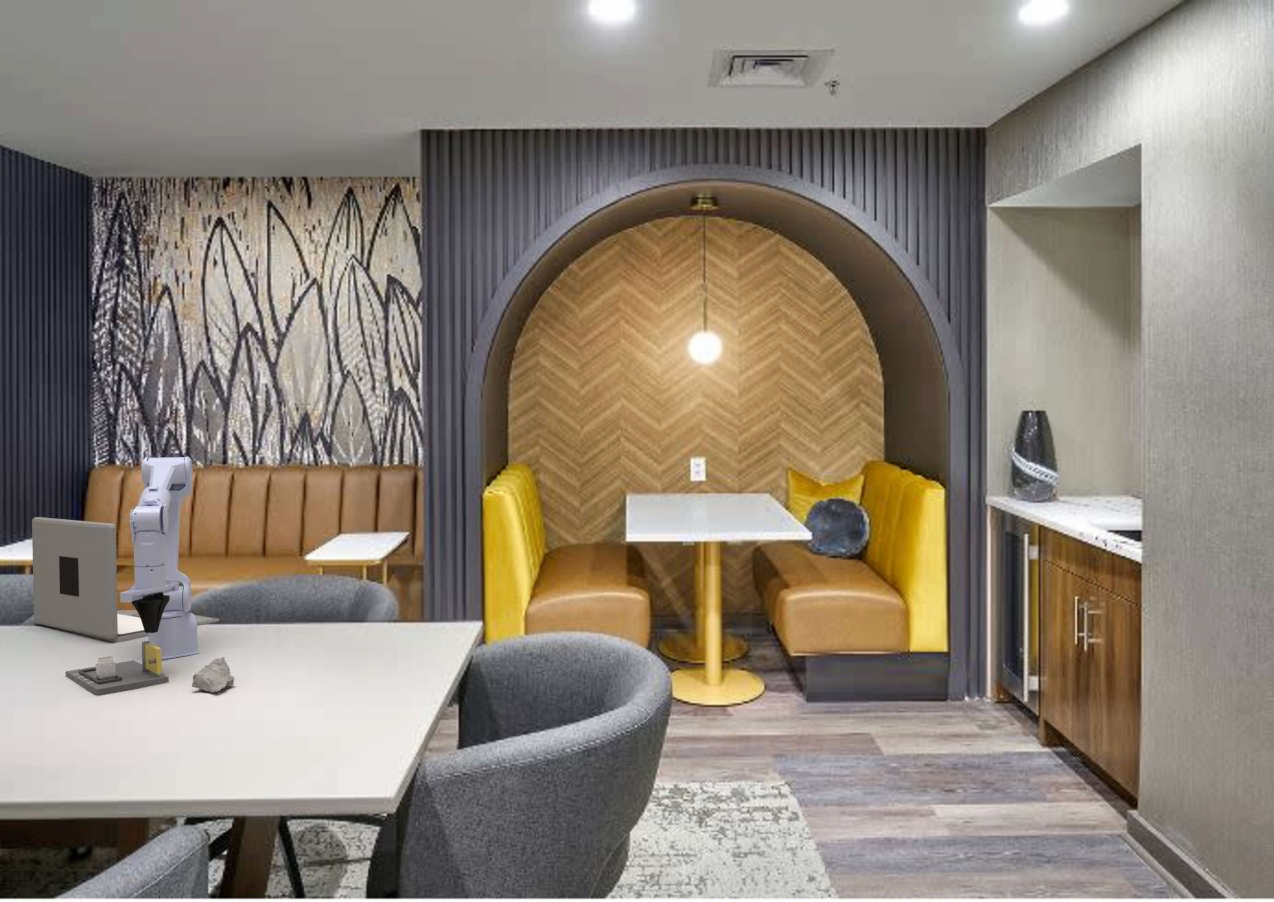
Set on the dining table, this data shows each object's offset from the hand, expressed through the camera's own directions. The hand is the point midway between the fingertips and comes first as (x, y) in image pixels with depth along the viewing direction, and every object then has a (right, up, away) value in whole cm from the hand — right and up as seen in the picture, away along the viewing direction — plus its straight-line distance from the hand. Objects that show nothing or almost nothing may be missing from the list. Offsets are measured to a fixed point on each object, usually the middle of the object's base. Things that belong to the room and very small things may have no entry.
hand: (151, 632), depth 199 cm
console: (-7, -10, -1) cm, 12 cm away
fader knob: (-6, -8, -5) cm, 12 cm away
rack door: (+1, -7, -2) cm, 8 cm away
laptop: (-30, -9, +49) cm, 58 cm away
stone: (+13, -11, -2) cm, 17 cm away
